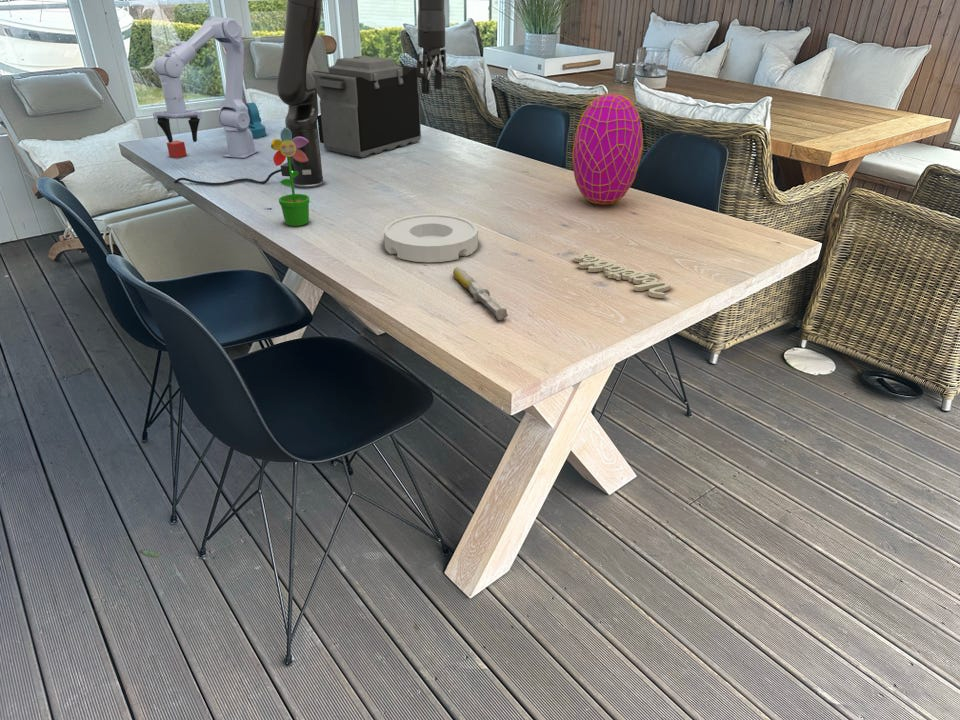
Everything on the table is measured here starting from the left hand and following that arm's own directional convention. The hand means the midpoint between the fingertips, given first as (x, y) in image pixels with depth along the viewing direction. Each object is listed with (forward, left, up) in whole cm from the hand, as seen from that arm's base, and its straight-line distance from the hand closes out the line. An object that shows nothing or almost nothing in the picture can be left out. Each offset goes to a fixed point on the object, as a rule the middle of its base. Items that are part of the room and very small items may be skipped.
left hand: (183, 141), depth 224 cm
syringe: (+73, +117, -9) cm, 138 cm away
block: (-13, -13, -9) cm, 21 cm away
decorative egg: (+1, +137, -9) cm, 137 cm away
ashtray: (+47, +98, -9) cm, 109 cm away
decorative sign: (+54, +146, -9) cm, 156 cm away
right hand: (+4, +86, +20) cm, 89 cm away
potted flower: (+40, +59, -9) cm, 72 cm away
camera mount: (-52, -7, -9) cm, 53 cm away
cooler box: (-46, +47, -9) cm, 66 cm away
